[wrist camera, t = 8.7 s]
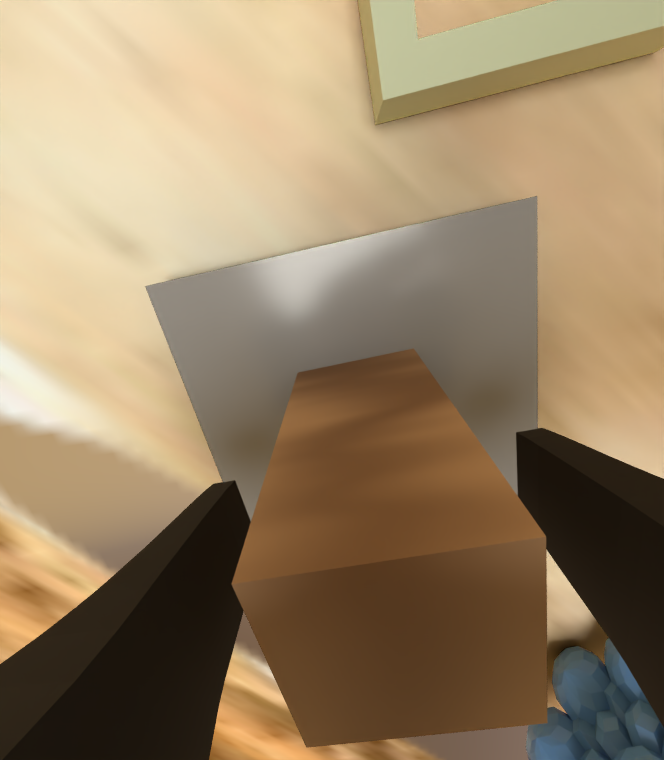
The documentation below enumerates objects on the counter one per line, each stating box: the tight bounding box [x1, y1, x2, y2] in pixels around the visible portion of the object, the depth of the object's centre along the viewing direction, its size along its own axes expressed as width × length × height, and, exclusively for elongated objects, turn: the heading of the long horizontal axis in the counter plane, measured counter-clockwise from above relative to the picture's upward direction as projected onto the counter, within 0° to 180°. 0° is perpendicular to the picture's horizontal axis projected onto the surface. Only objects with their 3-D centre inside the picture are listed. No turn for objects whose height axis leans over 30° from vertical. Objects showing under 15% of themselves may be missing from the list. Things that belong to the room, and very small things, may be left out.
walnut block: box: [232, 348, 547, 747], centre depth 9 cm, size 4×4×8 cm
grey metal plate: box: [145, 196, 538, 521], centre depth 13 cm, size 12×12×2 cm
